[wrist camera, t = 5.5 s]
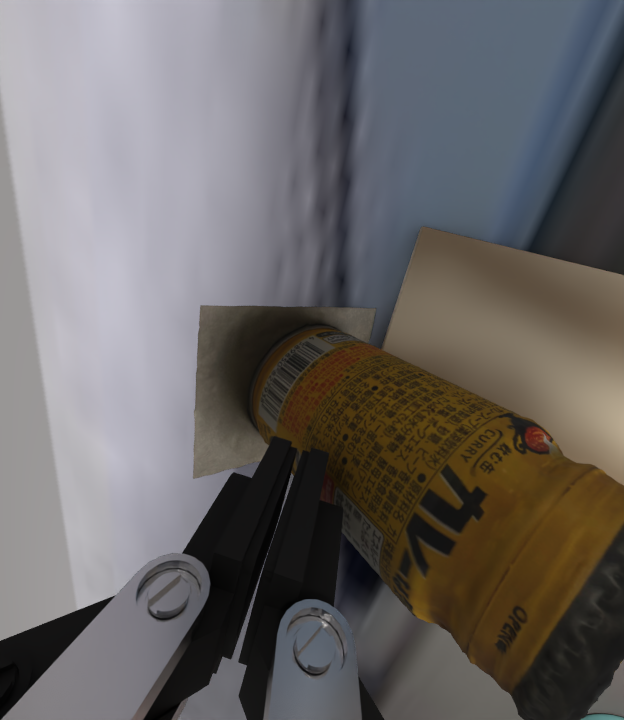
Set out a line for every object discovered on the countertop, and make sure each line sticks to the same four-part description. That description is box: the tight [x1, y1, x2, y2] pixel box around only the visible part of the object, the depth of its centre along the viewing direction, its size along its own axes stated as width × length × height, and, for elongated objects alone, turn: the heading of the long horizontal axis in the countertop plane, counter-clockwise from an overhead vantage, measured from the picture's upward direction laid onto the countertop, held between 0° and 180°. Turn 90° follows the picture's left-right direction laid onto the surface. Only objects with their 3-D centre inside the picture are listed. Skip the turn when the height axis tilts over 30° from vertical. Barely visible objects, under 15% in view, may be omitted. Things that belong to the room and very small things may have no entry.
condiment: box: [193, 306, 624, 720], centre depth 11 cm, size 7×8×12 cm
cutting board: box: [381, 226, 624, 485], centre depth 16 cm, size 16×21×1 cm
